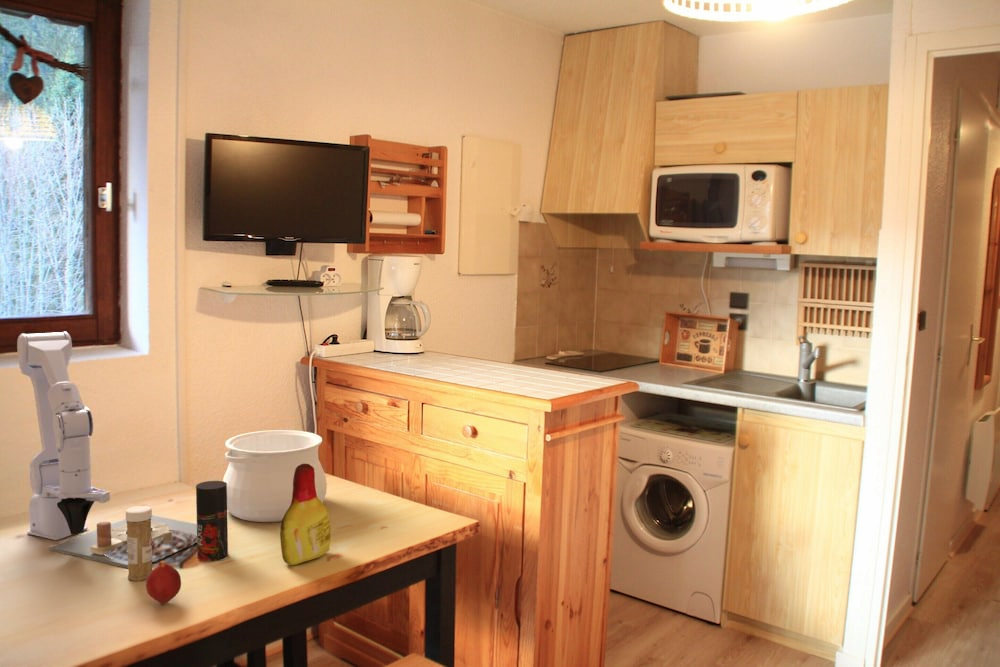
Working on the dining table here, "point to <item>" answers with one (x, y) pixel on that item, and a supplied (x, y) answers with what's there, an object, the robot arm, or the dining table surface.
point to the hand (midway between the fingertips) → (77, 533)
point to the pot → (269, 472)
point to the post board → (84, 542)
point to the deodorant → (212, 521)
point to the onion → (163, 583)
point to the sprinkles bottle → (139, 542)
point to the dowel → (167, 536)
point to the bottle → (304, 521)
